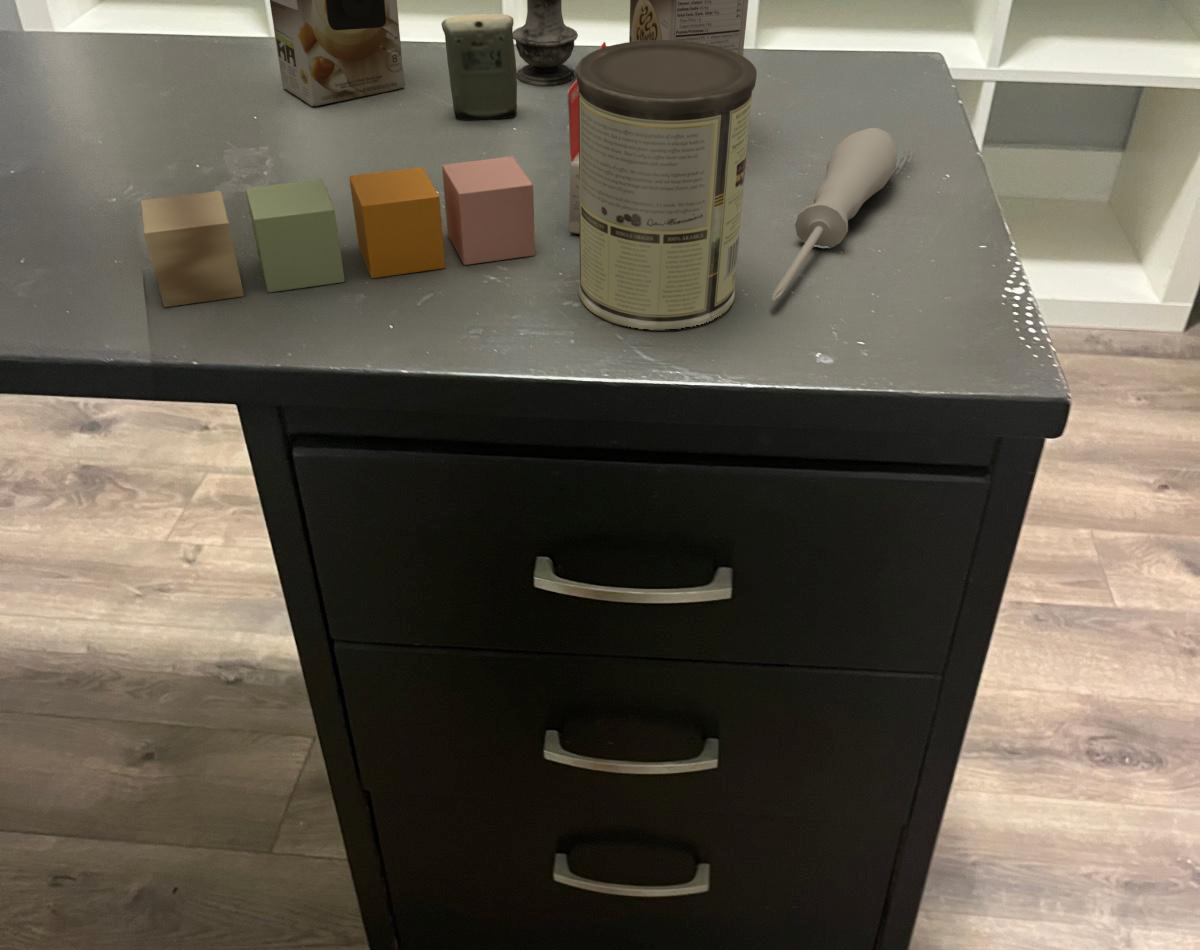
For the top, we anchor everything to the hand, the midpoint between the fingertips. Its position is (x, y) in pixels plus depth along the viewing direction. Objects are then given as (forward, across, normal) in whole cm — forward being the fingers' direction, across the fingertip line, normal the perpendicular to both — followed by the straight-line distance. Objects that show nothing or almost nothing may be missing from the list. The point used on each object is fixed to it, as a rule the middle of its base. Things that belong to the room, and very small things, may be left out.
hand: (343, 2), depth 70 cm
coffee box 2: (+16, -13, +28) cm, 34 cm away
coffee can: (+16, +11, +17) cm, 25 cm away
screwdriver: (+15, +7, +31) cm, 35 cm away
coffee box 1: (+16, -33, +4) cm, 37 cm away
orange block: (+16, +1, +2) cm, 16 cm away
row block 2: (+16, +1, -5) cm, 17 cm away
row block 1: (+16, +1, -11) cm, 20 cm away
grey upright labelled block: (+16, -23, +14) cm, 31 cm away
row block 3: (+16, +1, +8) cm, 18 cm away
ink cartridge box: (+16, -3, +18) cm, 24 cm away
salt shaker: (+16, -31, +22) cm, 41 cm away
